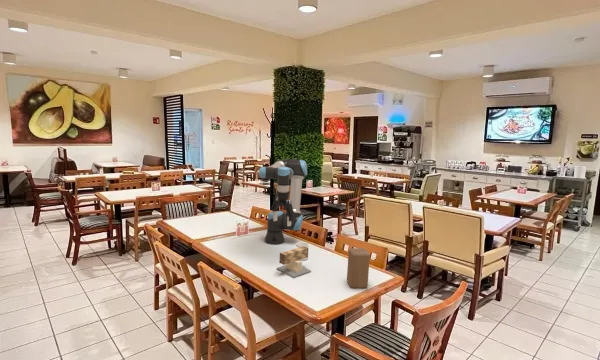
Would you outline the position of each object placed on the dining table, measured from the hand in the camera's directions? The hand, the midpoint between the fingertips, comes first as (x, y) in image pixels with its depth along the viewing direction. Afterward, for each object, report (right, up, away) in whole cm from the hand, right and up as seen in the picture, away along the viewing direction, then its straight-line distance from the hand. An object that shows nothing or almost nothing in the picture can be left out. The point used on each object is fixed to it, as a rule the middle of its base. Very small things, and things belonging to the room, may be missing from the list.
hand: (282, 223), depth 217 cm
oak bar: (+8, -21, -13) cm, 26 cm away
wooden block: (+44, -32, -27) cm, 60 cm away
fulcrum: (+8, -28, -12) cm, 31 cm away
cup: (+11, -25, +8) cm, 29 cm away
